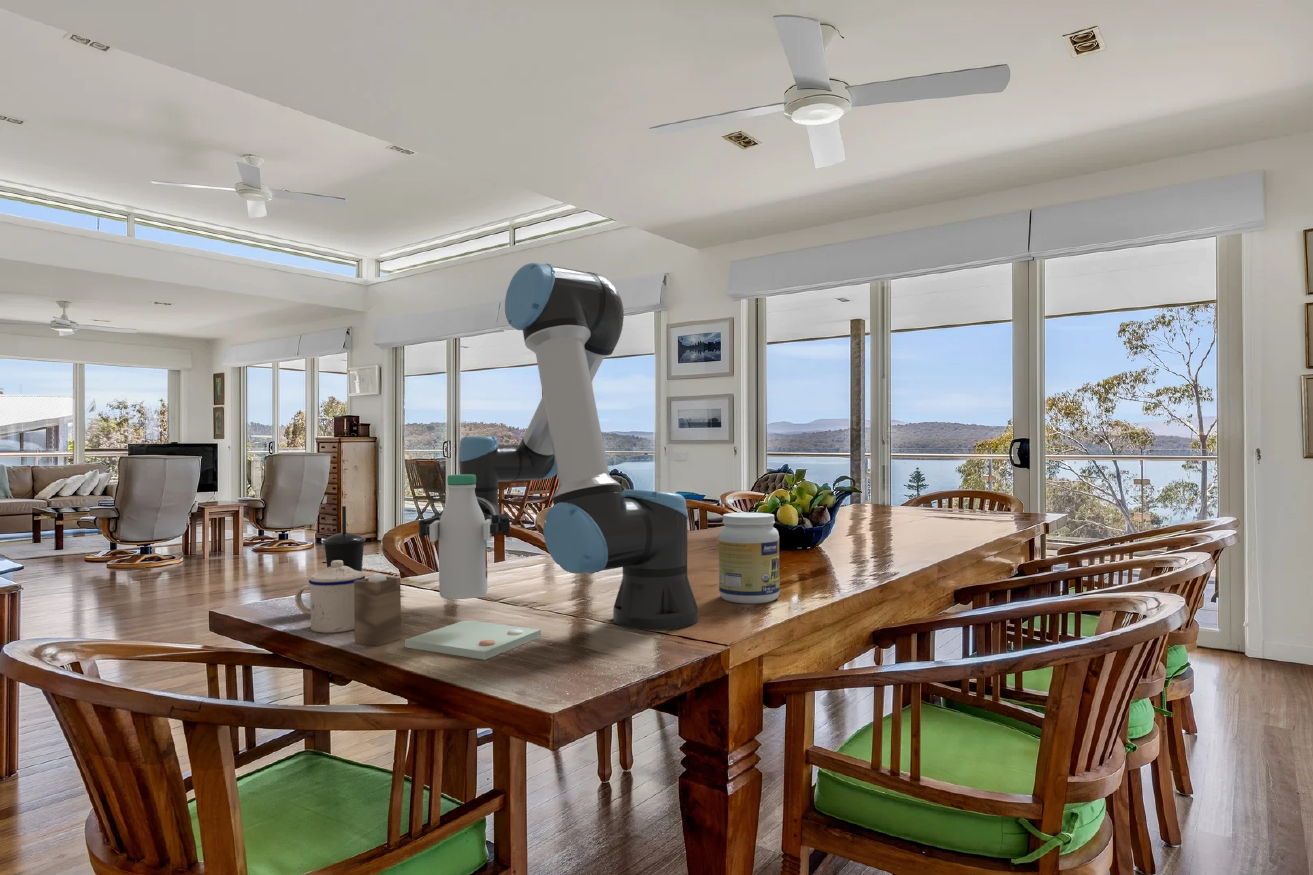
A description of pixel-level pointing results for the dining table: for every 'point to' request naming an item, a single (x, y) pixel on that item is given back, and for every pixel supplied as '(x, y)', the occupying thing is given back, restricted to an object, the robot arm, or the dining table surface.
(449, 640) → the card
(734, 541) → the supplement tub
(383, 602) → the walnut tube
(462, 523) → the milk bottle
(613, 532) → the robot arm
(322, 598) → the teacup with lid
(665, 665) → the dining table surface
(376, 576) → the cream ball
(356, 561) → the drinking cup
